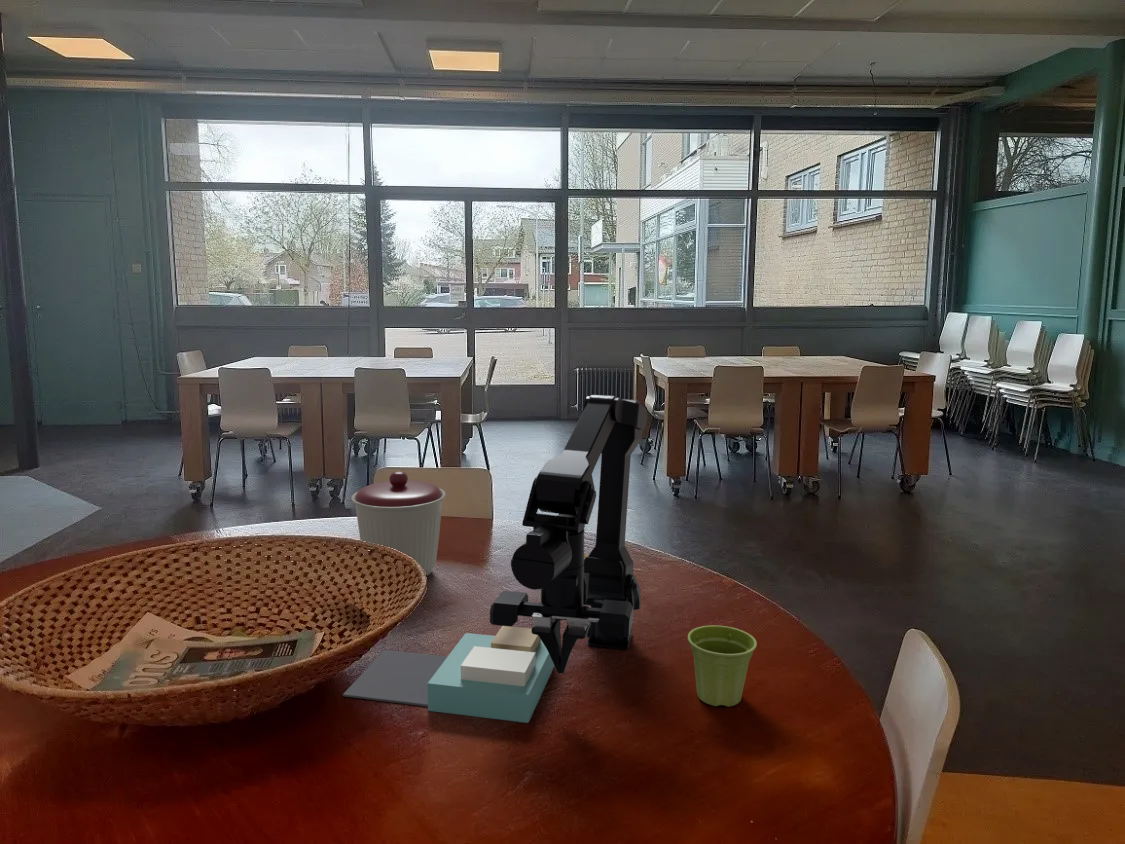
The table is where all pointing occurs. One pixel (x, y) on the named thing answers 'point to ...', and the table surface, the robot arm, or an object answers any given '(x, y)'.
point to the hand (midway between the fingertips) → (561, 672)
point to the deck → (486, 686)
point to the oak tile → (516, 639)
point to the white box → (498, 666)
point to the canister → (401, 517)
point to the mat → (397, 678)
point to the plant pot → (721, 662)
